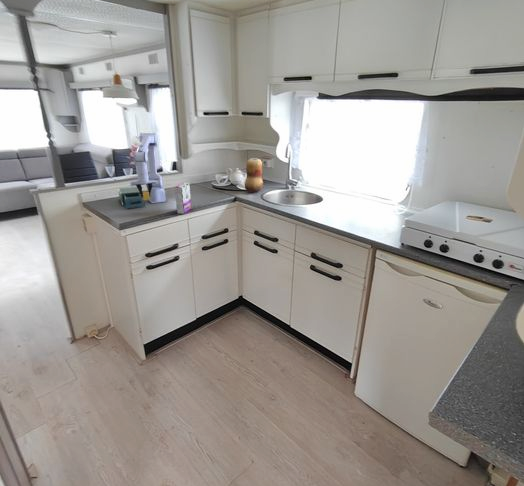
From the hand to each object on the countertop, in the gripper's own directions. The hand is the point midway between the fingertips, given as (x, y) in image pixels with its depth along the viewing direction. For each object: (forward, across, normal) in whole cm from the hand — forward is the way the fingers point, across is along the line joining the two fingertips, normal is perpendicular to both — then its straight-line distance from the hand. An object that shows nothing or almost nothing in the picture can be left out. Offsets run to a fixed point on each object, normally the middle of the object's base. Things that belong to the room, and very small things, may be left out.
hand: (145, 196), depth 190 cm
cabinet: (+10, -4, +30) cm, 32 cm away
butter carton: (+1, 0, 0) cm, 1 cm away
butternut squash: (+11, +80, +16) cm, 83 cm away
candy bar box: (+10, +20, -6) cm, 24 cm away
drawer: (+9, -5, +18) cm, 20 cm away
